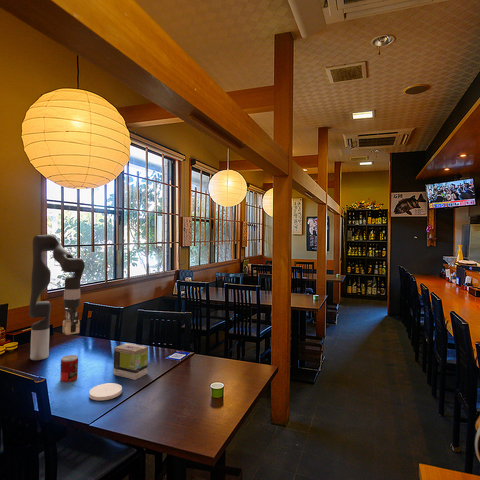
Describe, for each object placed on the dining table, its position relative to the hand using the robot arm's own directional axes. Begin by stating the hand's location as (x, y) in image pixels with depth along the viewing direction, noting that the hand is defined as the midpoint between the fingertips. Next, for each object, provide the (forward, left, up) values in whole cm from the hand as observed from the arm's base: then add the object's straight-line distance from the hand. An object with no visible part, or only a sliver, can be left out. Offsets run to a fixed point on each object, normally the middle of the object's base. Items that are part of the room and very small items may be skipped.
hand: (70, 330), depth 165 cm
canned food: (0, 0, -25) cm, 25 cm away
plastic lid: (+28, +7, -25) cm, 38 cm away
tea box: (+14, +26, -25) cm, 38 cm away
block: (0, 0, -1) cm, 1 cm away
